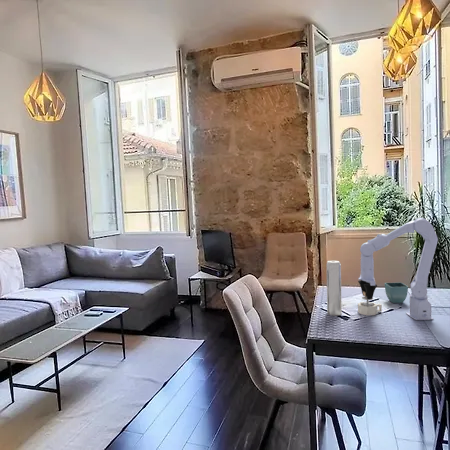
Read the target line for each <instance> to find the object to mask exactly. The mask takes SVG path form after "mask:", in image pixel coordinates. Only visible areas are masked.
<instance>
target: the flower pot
mask: <svg viewBox="0 0 450 450" xmlns="http://www.w3.org/2000/svg"><path fill="white" fill-rule="evenodd" d="M384 290H385V295H386V297H387V300H388V301H389V302H391V303H392V304H403V303H404V302H405V301H406V298H407V296H408V293H409V286H408V285H406V284H405V283H403V282H384Z"/></svg>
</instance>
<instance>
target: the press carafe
mask: <svg viewBox="0 0 450 450" xmlns="http://www.w3.org/2000/svg"><path fill="white" fill-rule="evenodd" d="M363 302H364V301H361V302H359V303H357V312H358V313H359V314H360V315H364V316H375V315H377V314H378V313H380V312H381V313H382V312H383V309H382V308H383V307H382V304H381V303H379V304H377V303H376V302H370V301H369V302H370V303H373V305H372V306H364V305H362V303H363Z"/></svg>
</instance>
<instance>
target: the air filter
mask: <svg viewBox="0 0 450 450" xmlns="http://www.w3.org/2000/svg"><path fill="white" fill-rule="evenodd" d="M326 303H327V306H326V307H327V308H326V310H327V315H329V316H332V317H333V316H335V317H336V316H341V315H342V312H343V308H342V307H343V306H342V304H343V303H342V264H341V262H340V261H339V260H327V262H326Z"/></svg>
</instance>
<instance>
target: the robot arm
mask: <svg viewBox="0 0 450 450" xmlns="http://www.w3.org/2000/svg"><path fill="white" fill-rule="evenodd" d="M415 232H416V233H418V234H419V235H421V237H422V238H423V240H424V244H423V248H422V251H421V255H420V259H419V263H418V266H417V271H416V274H415V275H414V278H413V280H412V281H411V283H410V285H409V288H410V290H411V293H410V294H409V312H405V314H406V315H408V316H409V317H410V318H412V319H413V320H414V321H426V320H434V317H432V304H431V302H430V301H429V299H428V295H427V294H428V288H427V286H428V278H429V275H430V271H431V267H432V264H433V259H434V255H435V252H436V249H437V244H438V242H439V238H438V235H437V233H436V230H435V229H434V226H433V225H432V223H431V222H429V221H428V220H427V219H426V218H425V217H417V218H415V219H414V220H410V221H408V222H405V223H404V224H403V225H401V226H399V227H397V228H395V229H393V230H392V231H391V232H389V233H387V234H385V233H381V234H379V233H378V234H377V235H376V236H375V237H374V238H371V239H368V240H366V241H367V242H364V243H362V244H361V246H360V249H359V251H360V274H359V277H358V279H357V282H358V285H360V289H361V294H362V297H365V296H364V295H363V291H366V295H367V299H372V298H373V299H374V293H375V290H376V288H377V287H378V285H377V284H376V280H375V274H374V272H375V267H374V265H375V262H374V261H375V260H374V252H378V251H379V250H381V249H384V248H386V247H387V246H389V245H390V243H391V241H392V240H394V239H396V238H399V237H401V236H402V235H405V234H408V233H409V234H411V233H415ZM373 299H372V300H373Z"/></svg>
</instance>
